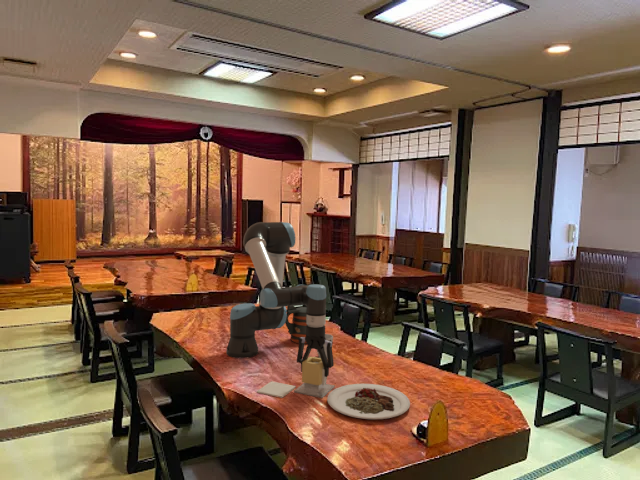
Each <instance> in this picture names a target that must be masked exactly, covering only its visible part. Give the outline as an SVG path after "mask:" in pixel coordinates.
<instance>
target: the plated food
mask: <svg viewBox="0 0 640 480" xmlns="http://www.w3.org/2000/svg"><path fill="white" fill-rule="evenodd" d="M326 400H327V404H328V405H329V406H330V407H331V408H332V409H333V410H334V411H336V412H338V413H340V414H342V415H345V416H348V417H352V418H357V419H363V420H364V419H365V420H384V419H385V420H386V419H390V418H391V419H392V418H395V417H398V416H401V415H403V414H404V413H406V412H407V411H408V410H409V408H410V407H411V401H410V398H408V395H406V394H404V393H403V392H402V391H400V390H397V389H395V388H393V387H389V386H386V385H381V384H374V383H353V384H346V385H342V386H339V387H337V388H335V389H334V388H333V389H332V390H331V391H330V392H328V394H327V399H326Z"/></svg>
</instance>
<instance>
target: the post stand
mask: <svg viewBox="0 0 640 480" xmlns="http://www.w3.org/2000/svg"><path fill="white" fill-rule="evenodd" d="M313 363H318V362H313ZM334 388H335V385H334V384H329V383H326V384H325V385H324V386H323V385H322V384H321V385H320V386H319V385H314V384H309V383H303V382H302V384H301V385H299V386H297V387H296V388H295V389H293V393H295V394H300V395H306V396H309V397H315V398H319V399H323V398H324V397H326V395H328V394H329V393H330V392H331V391H333V390H334Z"/></svg>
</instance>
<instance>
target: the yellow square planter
mask: <svg viewBox="0 0 640 480" xmlns="http://www.w3.org/2000/svg"><path fill="white" fill-rule="evenodd" d="M327 360H328V358H327ZM313 362H318V363H313ZM323 368H324V366H323V363H322V360H321V358H319V357H316V356H310V355H309V356H308V358H307V359H306V360H305V361H303V362H302V372H301V382H302V384H303V383H309V384H314V385H319V386H320V385H321V384H322V369H323Z"/></svg>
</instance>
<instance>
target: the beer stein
mask: <svg viewBox="0 0 640 480" xmlns="http://www.w3.org/2000/svg"><path fill="white" fill-rule="evenodd" d="M286 311H287V312H286V313H287V318H286V322H285V324H284V325H285V327H286V328H287V329H288V331H287V332H288V333H289V335H290V341H291V342H292V343H296V344H299V340H298V339H299V338H301V337H306V325H307V324H306V306H302V307H301V306H300V307H296V306H286ZM290 315H292V319H291V320H292V321H291V322H290V320H289V316H290ZM306 344H307V342H306V341H305V342H304V345H306ZM307 345H308V344H307Z"/></svg>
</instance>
